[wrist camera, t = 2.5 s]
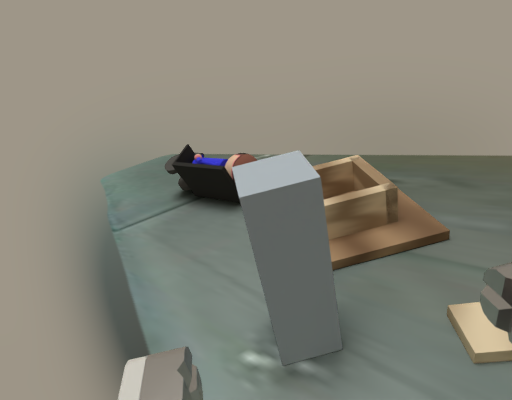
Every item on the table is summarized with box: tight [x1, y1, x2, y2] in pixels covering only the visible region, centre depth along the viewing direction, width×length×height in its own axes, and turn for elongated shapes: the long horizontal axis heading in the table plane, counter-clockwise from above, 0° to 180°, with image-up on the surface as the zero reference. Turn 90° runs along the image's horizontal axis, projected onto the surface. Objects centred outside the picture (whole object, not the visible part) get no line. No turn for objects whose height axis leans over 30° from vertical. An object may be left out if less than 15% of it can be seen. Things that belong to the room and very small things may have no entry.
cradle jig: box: [312, 155, 450, 270], centre depth 38 cm, size 16×16×5 cm
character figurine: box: [165, 145, 257, 203], centre depth 50 cm, size 8×7×15 cm
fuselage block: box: [232, 150, 343, 366], centre depth 24 cm, size 4×4×14 cm
